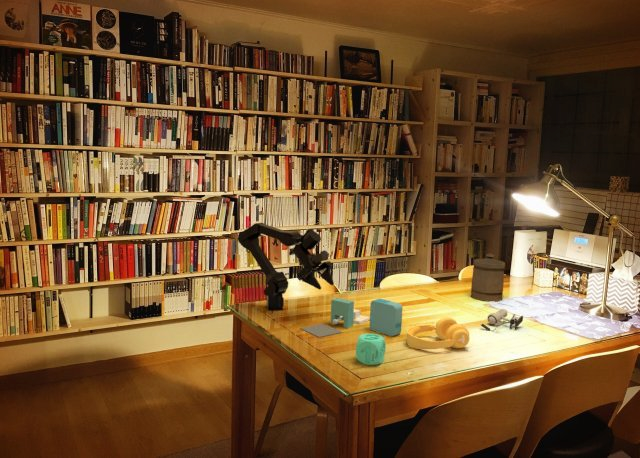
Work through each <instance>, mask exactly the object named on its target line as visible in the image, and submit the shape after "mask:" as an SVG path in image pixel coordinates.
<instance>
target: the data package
mask: <svg viewBox="0 0 640 458" xmlns="http://www.w3.org/2000/svg"><path fill="white" fill-rule="evenodd" d="M369 313H370V314H369V317H370V320H369V329H370V330H371V331H373V332H377V333H378V334H379V333H380V334H383V335H386V336H389V337H395V336H397V335H400V334H401V332H402V326H403V325H402V322H403V305H402V304H401V303H399V302H396V301H391V300H387V299H385V298H384V299H383V298H376V299H374V300H373V299H372V300H371V302H370V312H369Z"/></svg>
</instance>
